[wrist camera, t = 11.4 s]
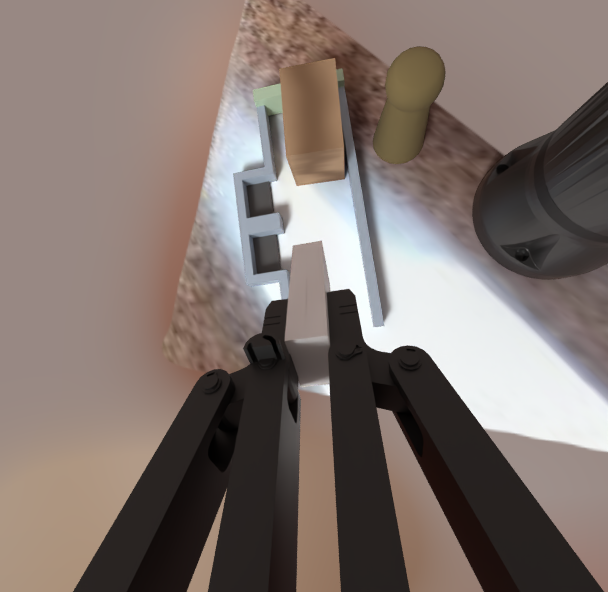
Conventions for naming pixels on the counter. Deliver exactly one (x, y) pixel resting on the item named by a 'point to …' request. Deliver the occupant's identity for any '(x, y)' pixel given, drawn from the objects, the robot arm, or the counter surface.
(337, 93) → the walnut block
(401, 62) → the cork
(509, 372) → the counter surface
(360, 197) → the trap lane
